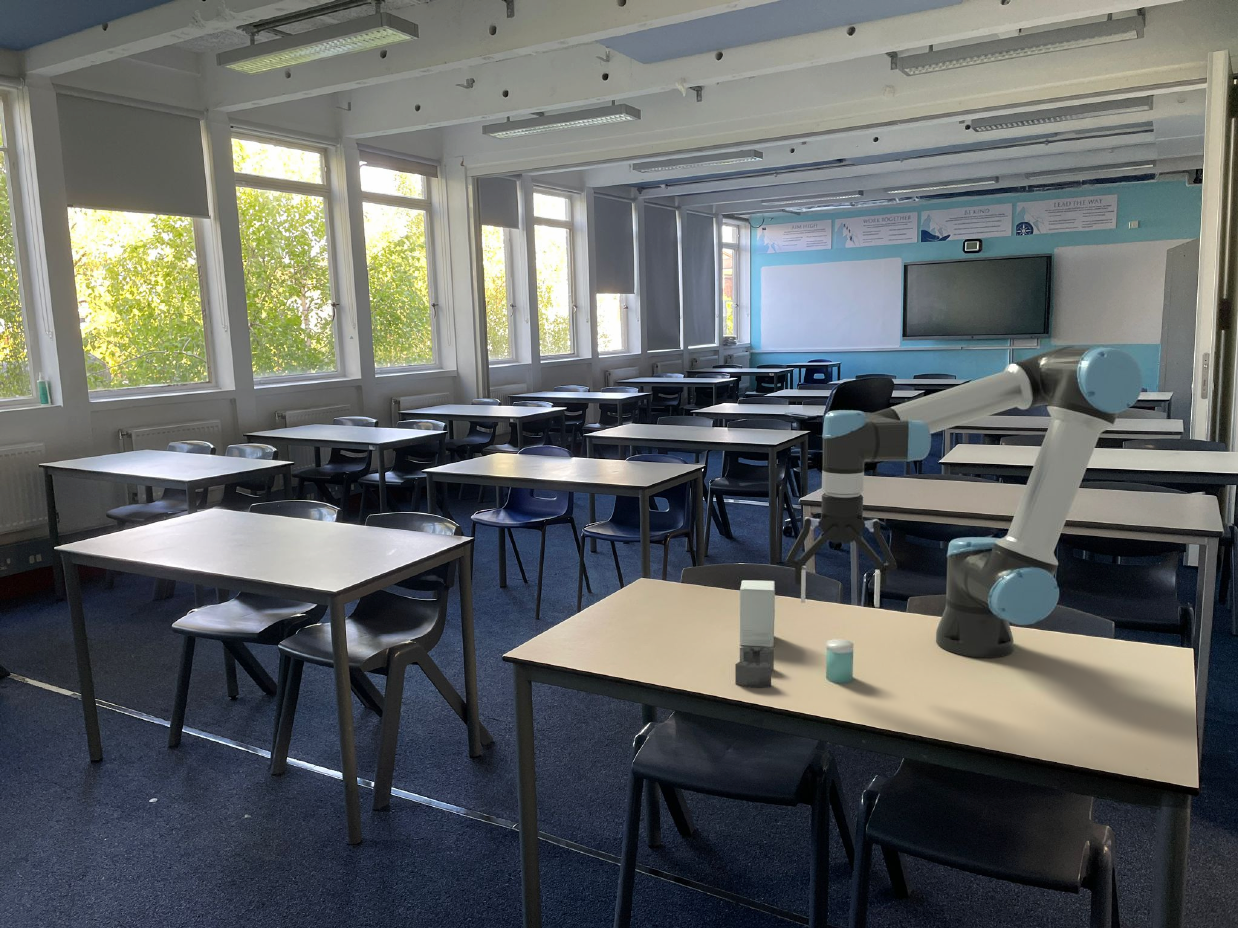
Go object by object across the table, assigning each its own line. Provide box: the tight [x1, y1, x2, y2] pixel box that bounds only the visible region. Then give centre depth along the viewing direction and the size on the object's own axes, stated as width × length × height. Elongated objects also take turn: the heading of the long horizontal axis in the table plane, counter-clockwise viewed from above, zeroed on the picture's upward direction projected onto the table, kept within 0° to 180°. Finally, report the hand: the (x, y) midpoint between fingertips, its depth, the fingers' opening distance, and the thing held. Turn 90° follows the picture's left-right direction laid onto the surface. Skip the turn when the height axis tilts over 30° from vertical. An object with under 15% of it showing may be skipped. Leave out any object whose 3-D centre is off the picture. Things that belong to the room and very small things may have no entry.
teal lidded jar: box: [825, 638, 854, 684], centre depth 166 cm, size 5×5×7 cm
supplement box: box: [739, 579, 776, 648], centre depth 187 cm, size 7×7×13 cm
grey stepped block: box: [734, 646, 775, 689], centre depth 168 cm, size 7×11×4 cm, turn 167°
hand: (839, 603), depth 164 cm, fingers open, 13 cm apart
